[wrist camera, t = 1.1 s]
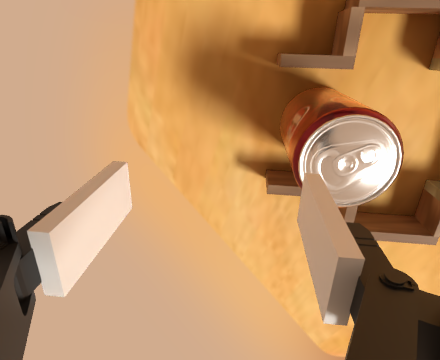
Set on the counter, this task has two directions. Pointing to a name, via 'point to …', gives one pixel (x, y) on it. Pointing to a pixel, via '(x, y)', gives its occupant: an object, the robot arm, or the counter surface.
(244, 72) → the counter surface
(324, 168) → the soda can
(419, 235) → the trap box
